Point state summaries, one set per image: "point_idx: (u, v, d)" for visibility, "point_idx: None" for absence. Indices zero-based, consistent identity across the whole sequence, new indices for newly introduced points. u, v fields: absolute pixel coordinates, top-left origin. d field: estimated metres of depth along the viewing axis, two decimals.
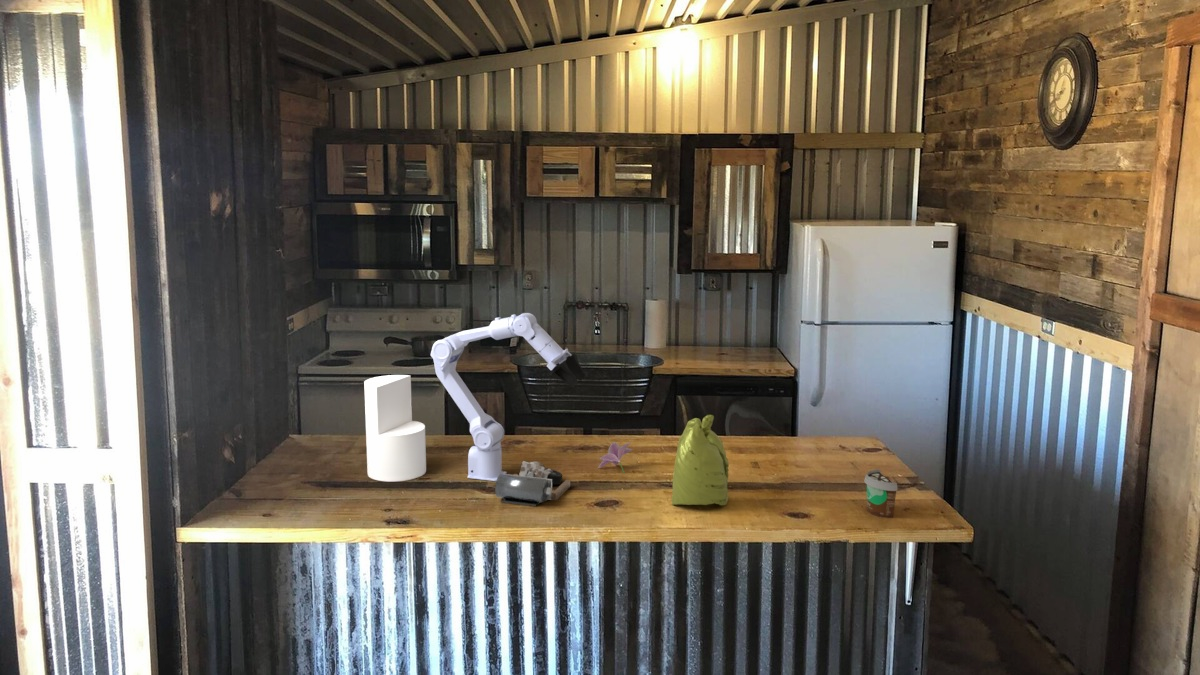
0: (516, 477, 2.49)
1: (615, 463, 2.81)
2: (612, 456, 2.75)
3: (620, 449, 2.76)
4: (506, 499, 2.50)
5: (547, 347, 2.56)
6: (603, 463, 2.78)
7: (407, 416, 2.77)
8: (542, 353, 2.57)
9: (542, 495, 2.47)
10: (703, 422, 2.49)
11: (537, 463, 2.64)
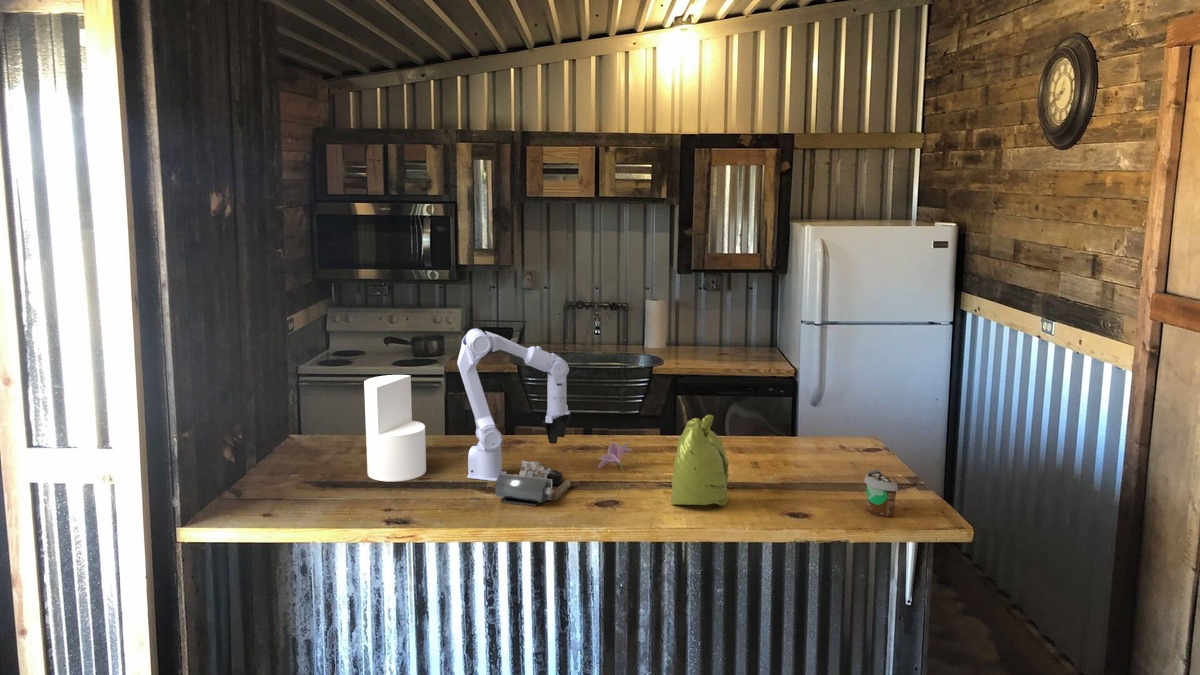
0: (516, 477, 2.49)
1: (615, 463, 2.81)
2: (612, 456, 2.75)
3: (620, 449, 2.76)
4: (506, 499, 2.50)
5: (557, 400, 2.70)
6: (603, 463, 2.78)
7: (407, 417, 2.77)
8: (550, 400, 2.71)
9: (542, 495, 2.47)
10: (703, 422, 2.49)
11: (537, 463, 2.64)
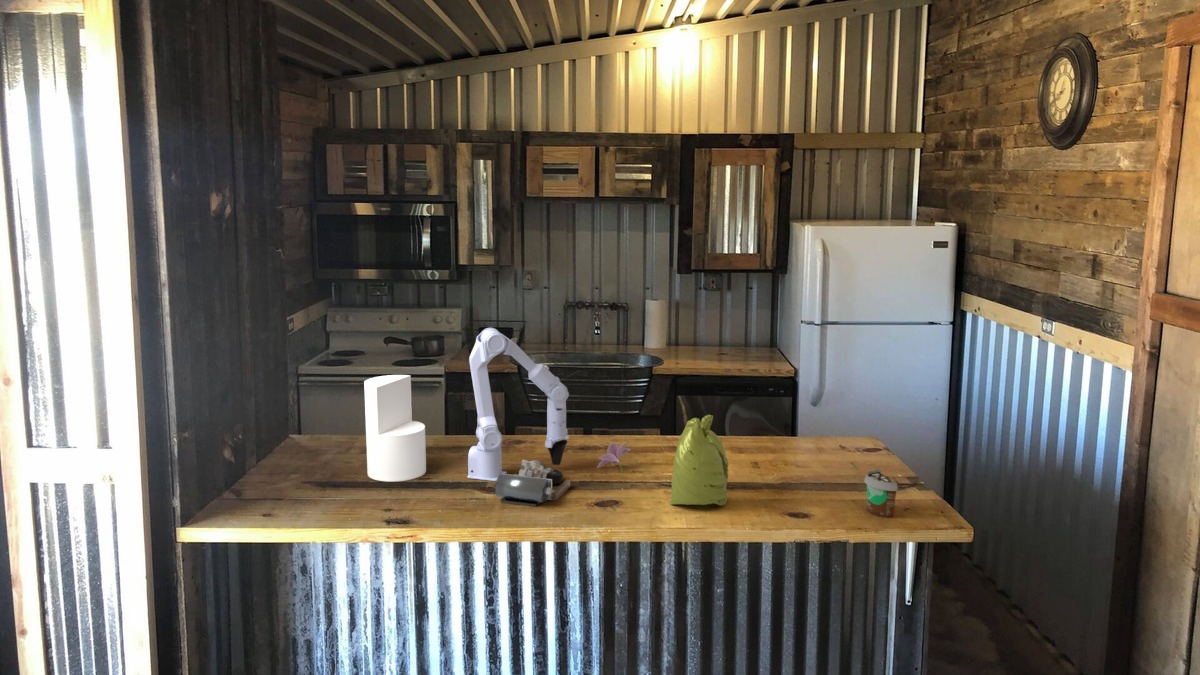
0: (516, 477, 2.49)
1: (614, 463, 2.81)
2: (611, 456, 2.75)
3: (619, 449, 2.76)
4: (506, 499, 2.50)
5: (557, 425, 2.72)
6: (602, 463, 2.78)
7: (407, 417, 2.77)
8: (549, 425, 2.72)
9: (542, 495, 2.47)
10: (702, 422, 2.49)
11: (537, 462, 2.65)
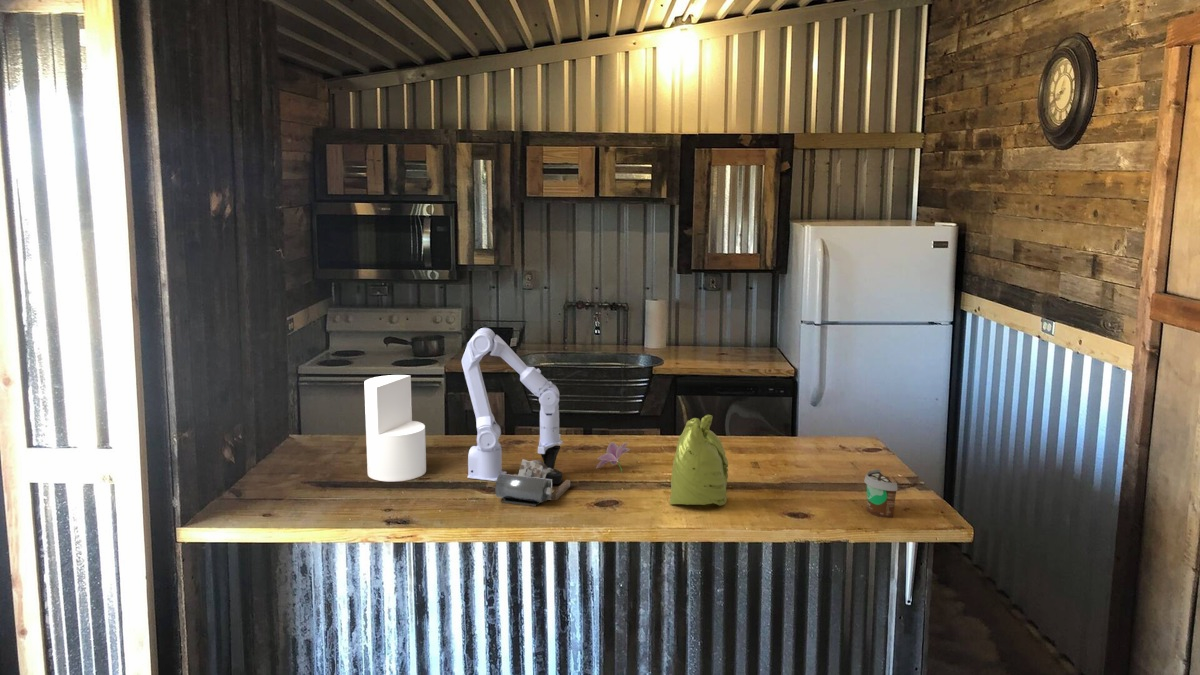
0: (516, 477, 2.49)
1: (613, 463, 2.81)
2: (610, 456, 2.75)
3: (618, 449, 2.76)
4: (506, 499, 2.50)
5: (550, 430, 2.66)
6: (601, 463, 2.78)
7: (407, 417, 2.77)
8: (542, 430, 2.66)
9: (542, 495, 2.47)
10: (702, 422, 2.49)
11: (537, 462, 2.65)
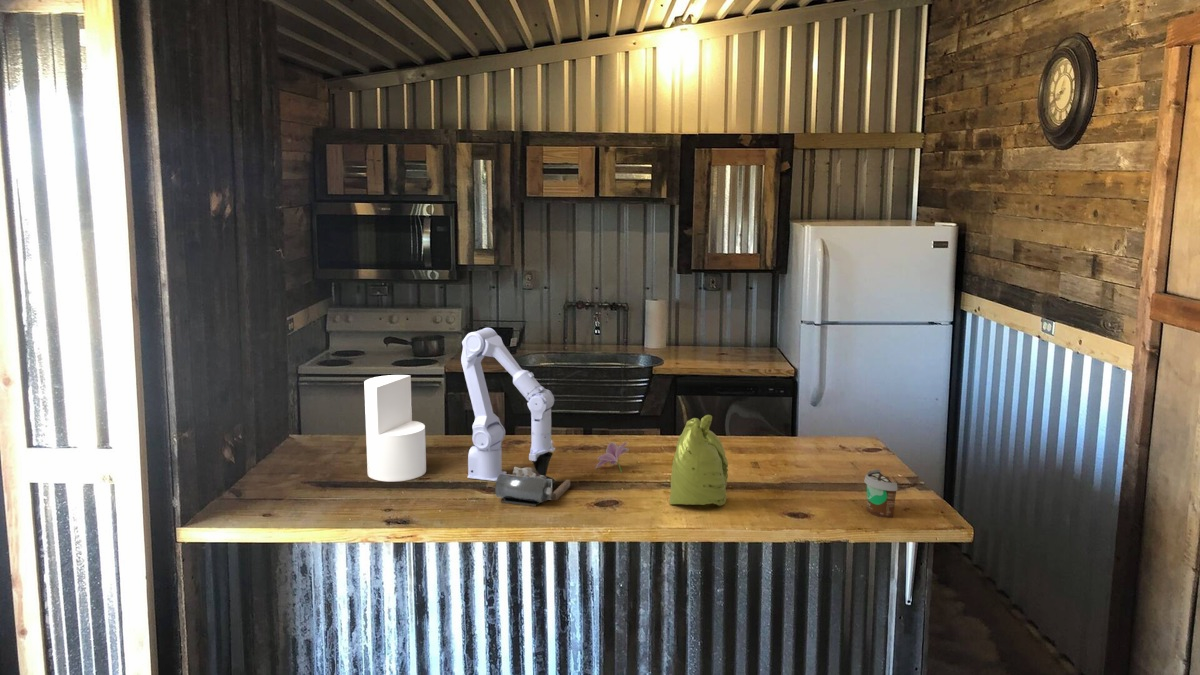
0: (516, 477, 2.49)
1: (612, 463, 2.81)
2: (610, 456, 2.76)
3: (618, 449, 2.76)
4: (506, 499, 2.50)
5: (542, 437, 2.59)
6: (601, 463, 2.78)
7: (407, 417, 2.77)
8: (534, 436, 2.60)
9: (542, 495, 2.47)
10: (701, 422, 2.49)
11: (530, 469, 2.58)
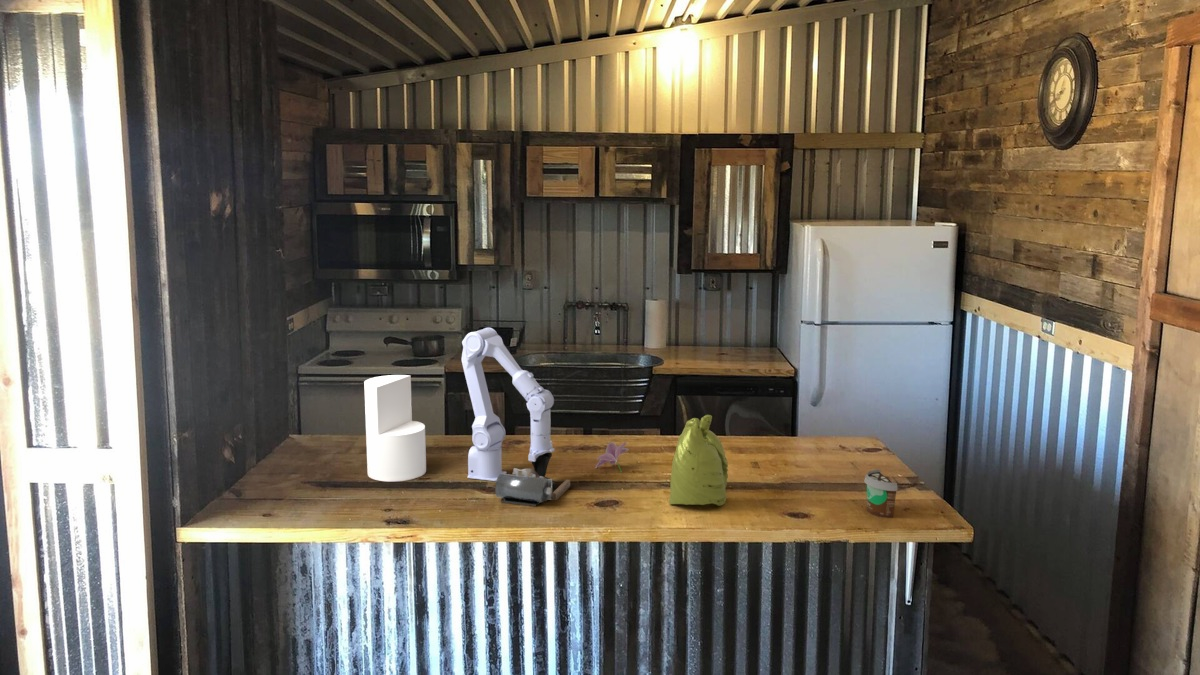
0: (516, 477, 2.49)
1: (612, 463, 2.81)
2: (609, 456, 2.76)
3: (617, 449, 2.76)
4: (506, 499, 2.50)
5: (541, 437, 2.59)
6: (600, 463, 2.79)
7: (407, 417, 2.77)
8: (533, 437, 2.59)
9: (542, 495, 2.47)
10: (701, 422, 2.49)
11: (529, 470, 2.58)
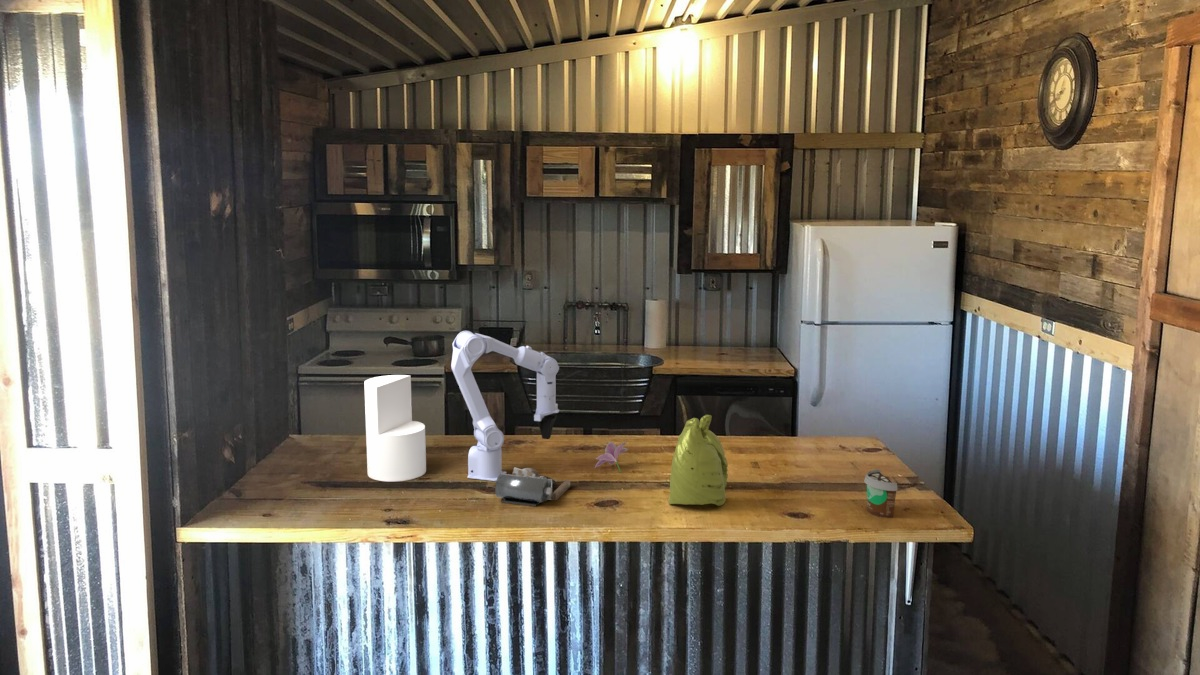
0: (516, 477, 2.49)
1: (611, 463, 2.81)
2: (609, 456, 2.76)
3: (617, 449, 2.76)
4: (506, 499, 2.50)
5: (546, 399, 2.72)
6: (599, 463, 2.79)
7: (407, 417, 2.77)
8: (539, 398, 2.73)
9: (542, 495, 2.47)
10: (701, 422, 2.49)
11: (530, 470, 2.58)
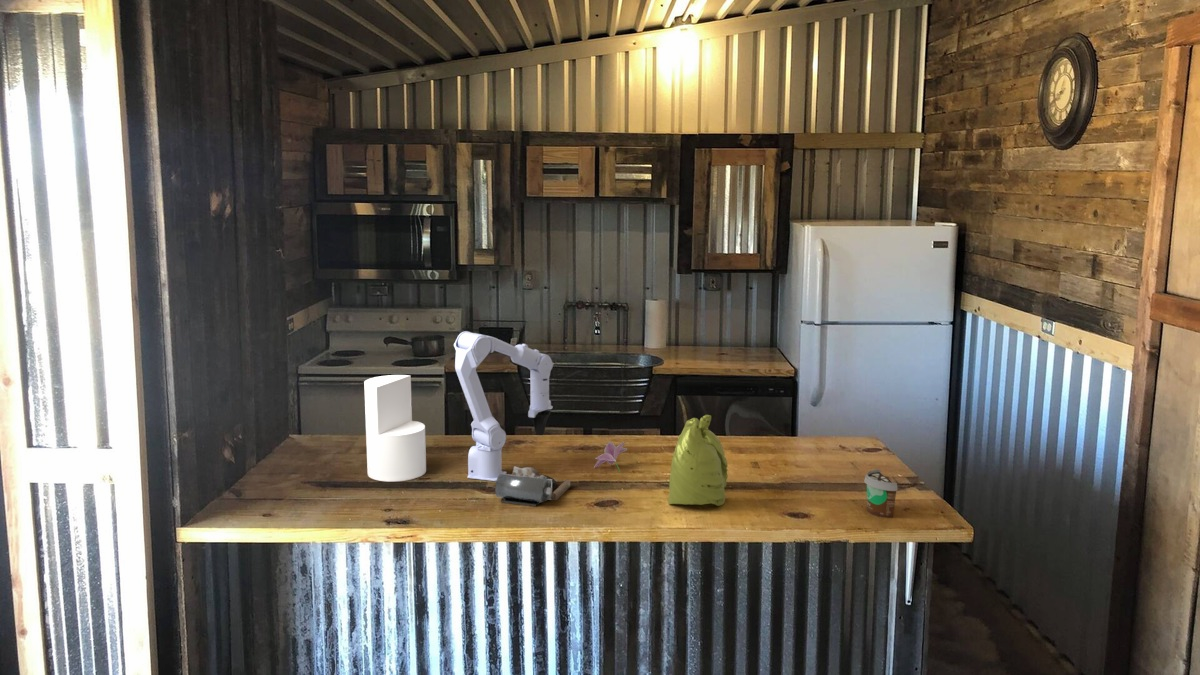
0: (516, 477, 2.49)
1: (610, 462, 2.81)
2: (608, 455, 2.76)
3: (616, 449, 2.76)
4: (506, 499, 2.50)
5: (540, 395, 2.76)
6: (599, 463, 2.79)
7: (407, 417, 2.77)
8: (533, 395, 2.77)
9: (542, 495, 2.47)
10: (700, 422, 2.49)
11: (530, 469, 2.59)
